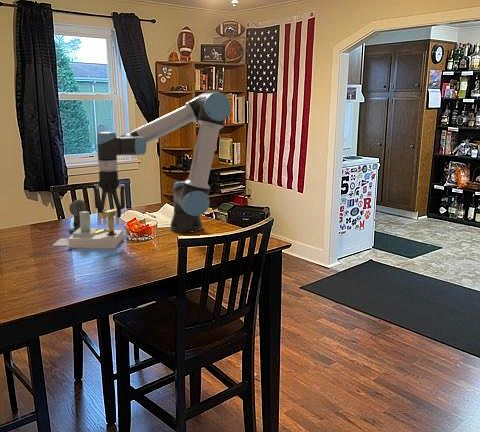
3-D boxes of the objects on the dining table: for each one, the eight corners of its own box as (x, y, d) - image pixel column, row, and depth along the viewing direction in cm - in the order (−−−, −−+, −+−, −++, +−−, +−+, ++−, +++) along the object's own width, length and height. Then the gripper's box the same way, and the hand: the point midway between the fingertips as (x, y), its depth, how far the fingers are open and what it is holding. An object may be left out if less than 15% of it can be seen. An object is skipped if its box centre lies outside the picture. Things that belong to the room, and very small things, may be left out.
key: (118, 230, 205) (117, 208, 203) (122, 231, 204) (121, 208, 202) (93, 237, 194) (92, 214, 192) (97, 238, 193) (96, 215, 191)
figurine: (86, 234, 214) (84, 202, 210) (64, 233, 214) (62, 201, 211) (92, 229, 222) (90, 198, 219) (71, 228, 223) (69, 197, 219)
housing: (123, 238, 209) (122, 229, 208) (114, 248, 195) (114, 239, 194) (80, 237, 209) (79, 228, 208) (68, 247, 195) (68, 238, 194)
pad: (78, 239, 207) (78, 238, 207) (70, 246, 197) (69, 245, 197) (61, 238, 207) (61, 238, 207) (52, 245, 197) (52, 245, 197)
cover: (98, 231, 205) (97, 209, 203) (91, 237, 196) (90, 215, 194) (80, 230, 205) (78, 209, 203) (72, 236, 196) (71, 214, 194)
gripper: (83, 171, 190) (87, 226, 196) (127, 171, 190) (129, 227, 196) (89, 168, 198) (93, 221, 204) (131, 169, 198) (134, 222, 203)
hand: (111, 224), depth 200 cm, fingers closed on key, 5 cm apart
